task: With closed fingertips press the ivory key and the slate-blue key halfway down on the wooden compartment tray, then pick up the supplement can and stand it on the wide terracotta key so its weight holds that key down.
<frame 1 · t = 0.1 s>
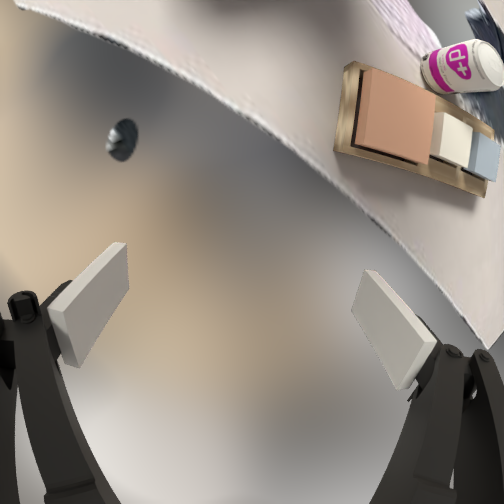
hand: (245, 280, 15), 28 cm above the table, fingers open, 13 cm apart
wooden compartment tray: (422, 134, 37), on the table
supplement can: (435, 73, 33), on the table
key terracotta: (395, 117, 32), point 5 cm above the table, slide at 0.0 cm
key ivory: (448, 139, 33), point 5 cm above the table, slide at 0.0 cm
key slate: (480, 156, 34), point 5 cm above the table, slide at 0.0 cm
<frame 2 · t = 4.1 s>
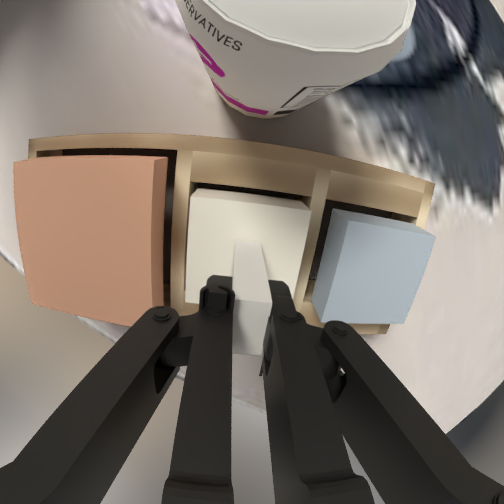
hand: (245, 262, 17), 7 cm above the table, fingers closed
wooden compartment tray: (218, 225, 23), on the table
supplement can: (265, 71, 18), on the table
key terracotta: (89, 234, 17), point 5 cm above the table, slide at 0.0 cm
key ivory: (243, 246, 19), point 4 cm above the table, slide at 1.0 cm, touching gripper
key slate: (368, 265, 19), point 5 cm above the table, slide at 0.0 cm
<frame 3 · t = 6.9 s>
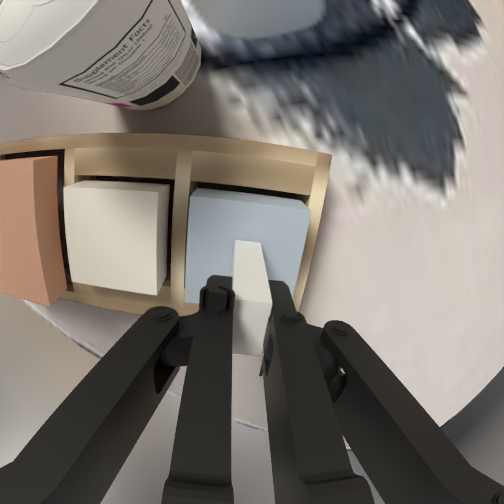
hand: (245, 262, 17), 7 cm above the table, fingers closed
wooden compartment tray: (116, 214, 22), on the table
supplement can: (153, 65, 18), on the table
key terracotta: (10, 224, 17), point 5 cm above the table, slide at 0.0 cm
key ivory: (119, 231, 19), point 4 cm above the table, slide at 1.1 cm
key slate: (243, 246, 19), point 4 cm above the table, slide at 0.8 cm, touching gripper
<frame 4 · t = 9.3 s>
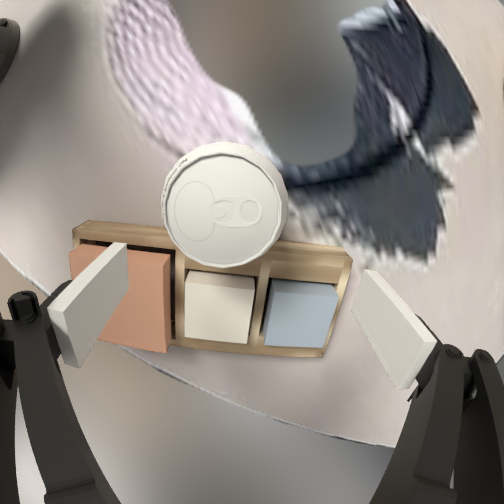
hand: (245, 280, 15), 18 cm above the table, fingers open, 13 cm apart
wooden compartment tray: (205, 285, 34), on the table
supplement can: (232, 181, 30), on the table
key terracotta: (123, 296, 29), point 5 cm above the table, slide at 0.0 cm
key ivory: (218, 304, 31), point 4 cm above the table, slide at 1.1 cm
key slate: (297, 311, 31), point 4 cm above the table, slide at 1.1 cm
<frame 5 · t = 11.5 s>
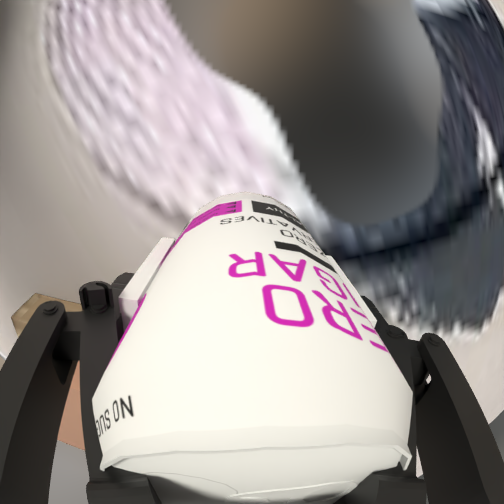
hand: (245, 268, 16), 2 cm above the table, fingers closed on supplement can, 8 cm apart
wooden compartment tray: (204, 384, 23), on the table
supplement can: (244, 252, 18), on the table, touching gripper
key terracotta: (93, 408, 17), point 5 cm above the table, slide at 0.0 cm
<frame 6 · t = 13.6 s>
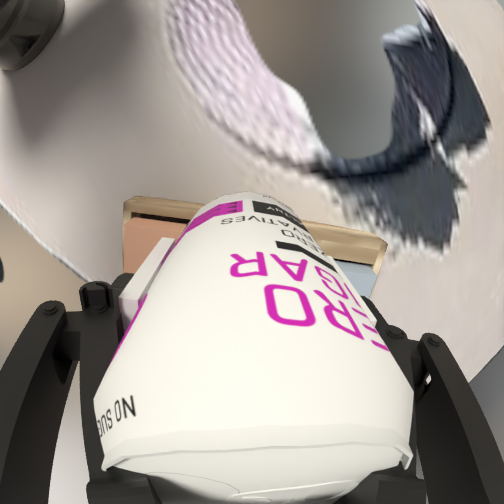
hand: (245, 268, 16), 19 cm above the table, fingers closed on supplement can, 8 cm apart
wooden compartment tray: (251, 264, 37), on the table
supplement can: (245, 252, 18), point 17 cm above the table, touching gripper
key terracotta: (175, 271, 31), point 5 cm above the table, slide at 0.0 cm
key slate: (338, 289, 34), point 4 cm above the table, slide at 1.1 cm
when the fingers open (11 cm above the table, at t = 16.0 s): supplement can drops 4 cm, resting on key terracotta.
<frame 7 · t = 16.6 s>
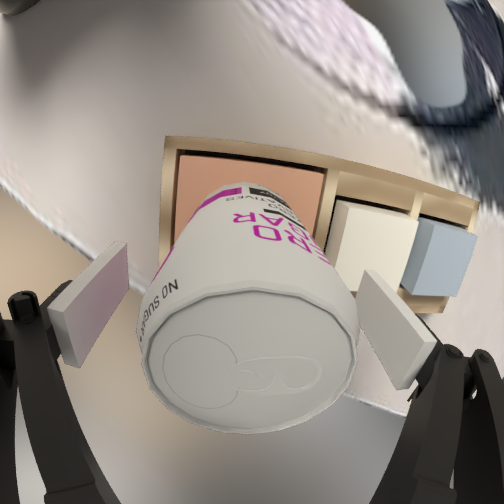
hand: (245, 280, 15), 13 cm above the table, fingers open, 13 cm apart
wooden compartment tray: (333, 229, 27), on the table
supplement can: (243, 231, 22), point 4 cm above the table, touching key terracotta
key terracotta: (243, 224, 24), point 2 cm above the table, slide at 2.6 cm, touching supplement can
key ivory: (365, 245, 24), point 4 cm above the table, slide at 1.1 cm
key slate: (435, 255, 24), point 4 cm above the table, slide at 1.1 cm
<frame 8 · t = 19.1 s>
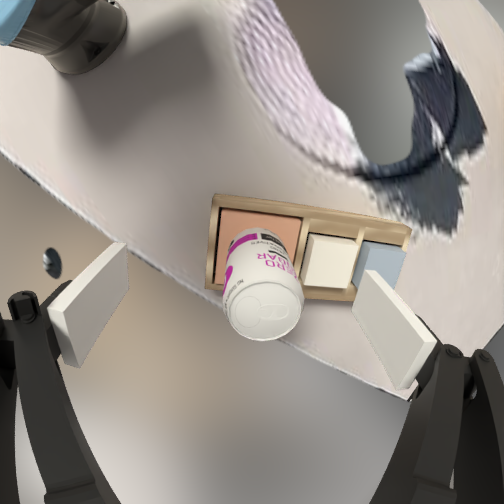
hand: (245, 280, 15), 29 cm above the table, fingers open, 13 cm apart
wooden compartment tray: (309, 248, 45), on the table
supplement can: (256, 252, 40), point 4 cm above the table, touching key terracotta
key terracotta: (255, 247, 42), point 2 cm above the table, slide at 2.6 cm, touching supplement can
key ivory: (327, 259, 42), point 4 cm above the table, slide at 1.1 cm
key slate: (376, 265, 42), point 4 cm above the table, slide at 1.1 cm
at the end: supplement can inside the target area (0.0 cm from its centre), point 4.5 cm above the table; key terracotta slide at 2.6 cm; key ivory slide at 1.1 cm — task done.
